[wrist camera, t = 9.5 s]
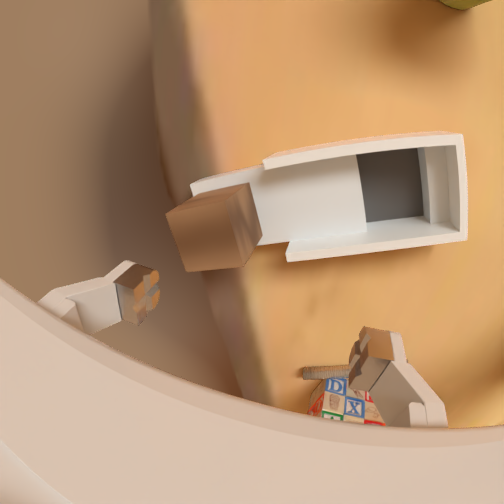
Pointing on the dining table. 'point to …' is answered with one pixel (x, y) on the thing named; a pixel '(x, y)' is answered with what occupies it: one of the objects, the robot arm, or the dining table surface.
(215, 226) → the walnut block
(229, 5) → the dining table surface
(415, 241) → the channel
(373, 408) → the stack of blocks
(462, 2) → the plant pot
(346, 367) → the steel rod
